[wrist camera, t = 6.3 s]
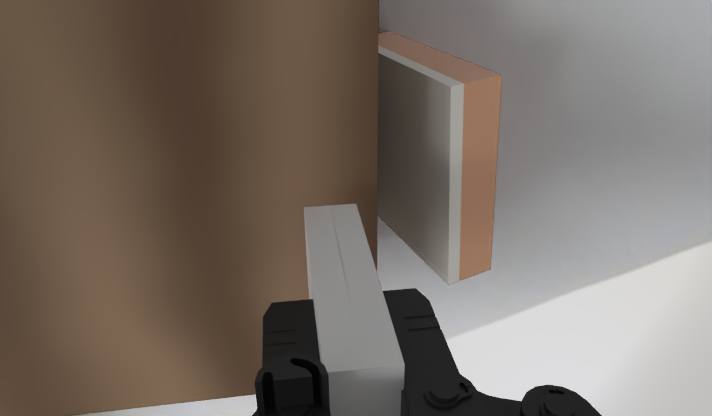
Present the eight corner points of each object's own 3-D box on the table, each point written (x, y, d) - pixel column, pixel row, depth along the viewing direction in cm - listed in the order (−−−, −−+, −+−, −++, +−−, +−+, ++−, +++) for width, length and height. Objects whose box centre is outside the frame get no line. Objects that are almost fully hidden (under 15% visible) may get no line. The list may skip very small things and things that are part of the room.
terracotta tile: (448, 284, 22) (490, 269, 23) (450, 86, 18) (502, 74, 19) (360, 199, 29) (395, 189, 29) (348, 38, 25) (389, 31, 25)
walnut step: (65, 266, 28) (-24, 426, 20) (-27, -38, 22) (-221, -4, 13) (343, 243, 30) (376, 380, 21) (335, -46, 23) (379, -21, 15)
